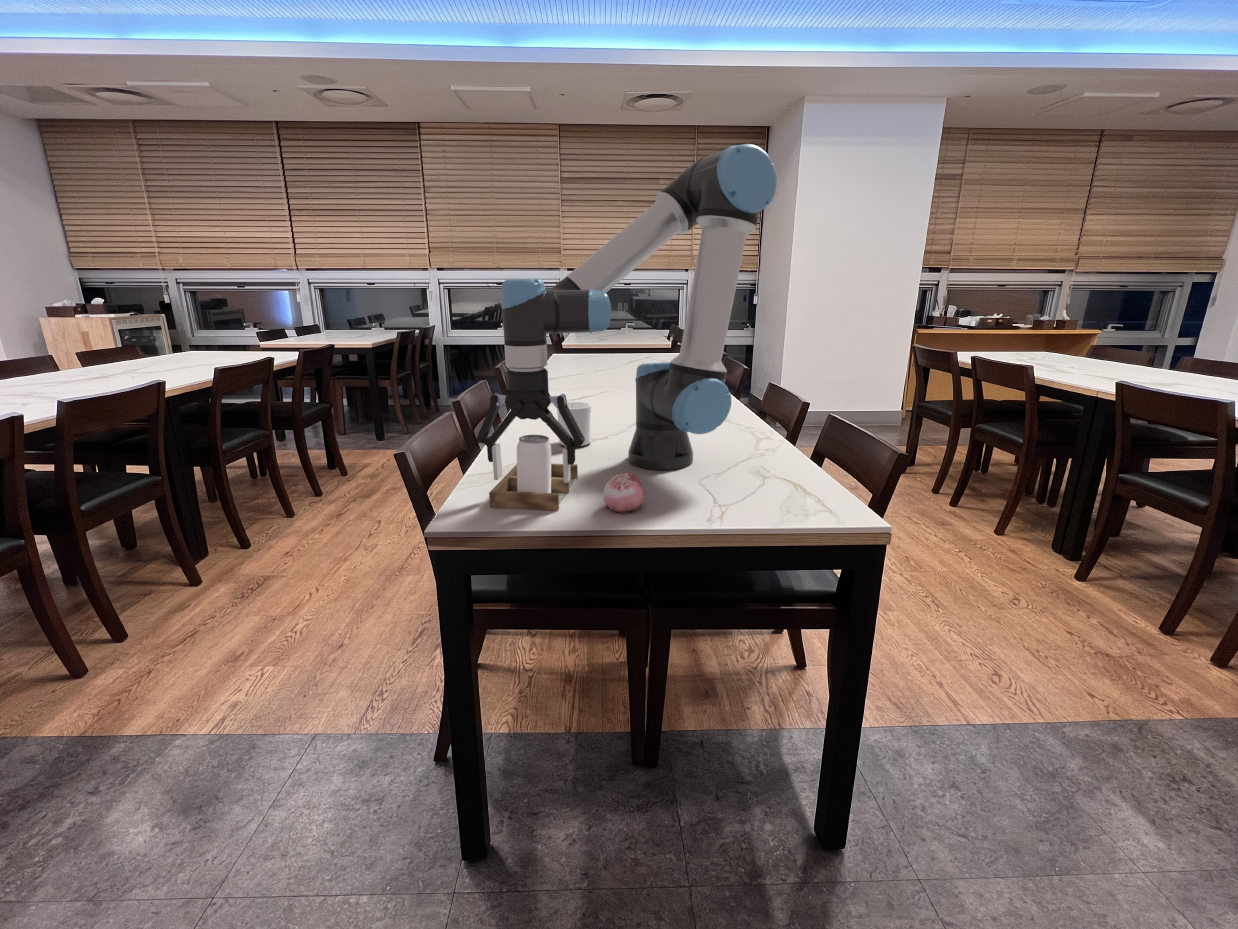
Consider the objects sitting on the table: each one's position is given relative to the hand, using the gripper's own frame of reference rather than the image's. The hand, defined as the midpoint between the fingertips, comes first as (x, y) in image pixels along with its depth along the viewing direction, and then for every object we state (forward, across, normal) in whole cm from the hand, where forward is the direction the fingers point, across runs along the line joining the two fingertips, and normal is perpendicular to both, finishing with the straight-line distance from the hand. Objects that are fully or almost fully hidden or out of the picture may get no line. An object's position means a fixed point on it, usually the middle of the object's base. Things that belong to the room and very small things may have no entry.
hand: (532, 479), depth 112 cm
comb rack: (+4, 0, -4) cm, 6 cm away
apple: (+4, -18, +2) cm, 19 cm away
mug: (+4, 0, -42) cm, 42 cm away
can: (+4, 0, 0) cm, 4 cm away
